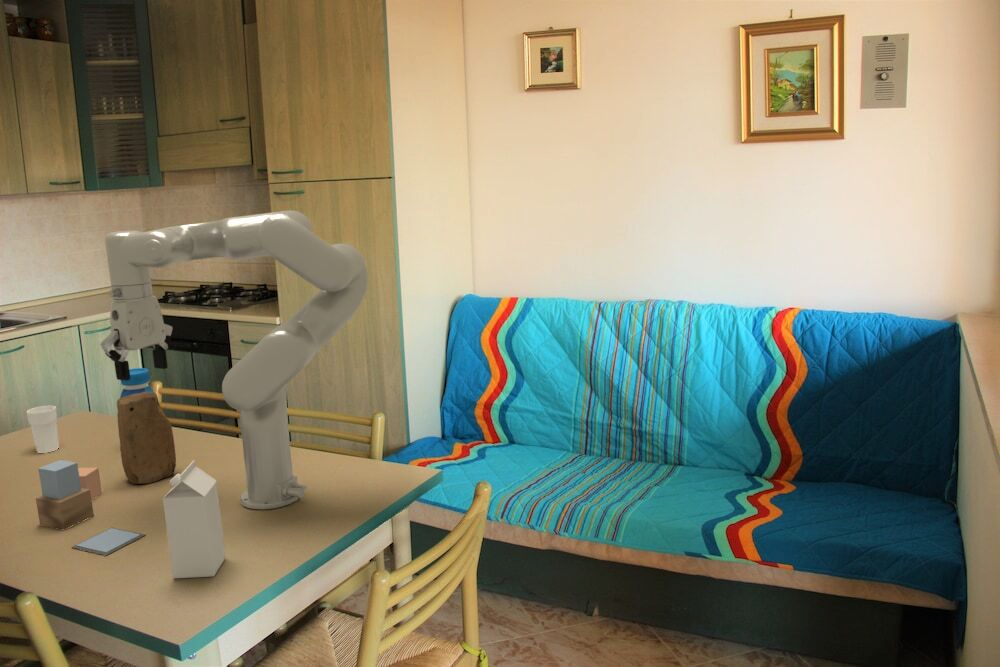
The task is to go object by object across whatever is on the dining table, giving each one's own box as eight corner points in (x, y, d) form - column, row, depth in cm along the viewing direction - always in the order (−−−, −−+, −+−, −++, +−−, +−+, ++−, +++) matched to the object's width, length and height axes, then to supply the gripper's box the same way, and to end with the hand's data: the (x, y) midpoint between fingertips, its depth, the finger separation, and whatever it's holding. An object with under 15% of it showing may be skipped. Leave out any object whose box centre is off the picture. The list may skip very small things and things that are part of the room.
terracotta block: (101, 493, 185) (98, 467, 184) (88, 502, 180) (85, 476, 179) (80, 493, 186) (76, 467, 184) (67, 502, 181) (63, 476, 180)
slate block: (81, 490, 171) (77, 462, 170) (59, 499, 167) (55, 471, 166) (64, 487, 173) (60, 459, 172) (42, 496, 169) (38, 468, 168)
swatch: (145, 535, 163) (145, 533, 163) (106, 556, 154) (105, 554, 154) (111, 528, 166) (111, 526, 166) (71, 548, 158) (71, 546, 158)
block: (132, 488, 187) (120, 402, 183) (122, 479, 193) (111, 396, 189) (180, 475, 194) (170, 392, 190) (170, 467, 199) (160, 386, 195)
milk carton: (225, 558, 152) (214, 459, 148) (214, 577, 145) (201, 474, 141) (186, 560, 152) (173, 461, 148) (172, 579, 145) (159, 476, 141)
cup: (36, 448, 217) (29, 407, 215) (64, 444, 219) (58, 404, 217) (30, 456, 211) (23, 414, 209) (59, 452, 213) (53, 411, 211)
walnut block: (93, 516, 173) (89, 489, 172) (64, 530, 167) (59, 502, 165) (70, 512, 176) (65, 485, 174) (40, 525, 169) (35, 497, 168)
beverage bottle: (168, 443, 217) (159, 368, 213) (139, 453, 210) (129, 376, 206) (148, 438, 221) (138, 365, 217) (119, 448, 214) (108, 373, 210)
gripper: (109, 299, 160) (121, 386, 164) (178, 286, 176) (187, 365, 179) (82, 298, 164) (94, 383, 167) (152, 285, 179) (162, 362, 182)
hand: (142, 373), depth 173 cm, fingers open, 9 cm apart
